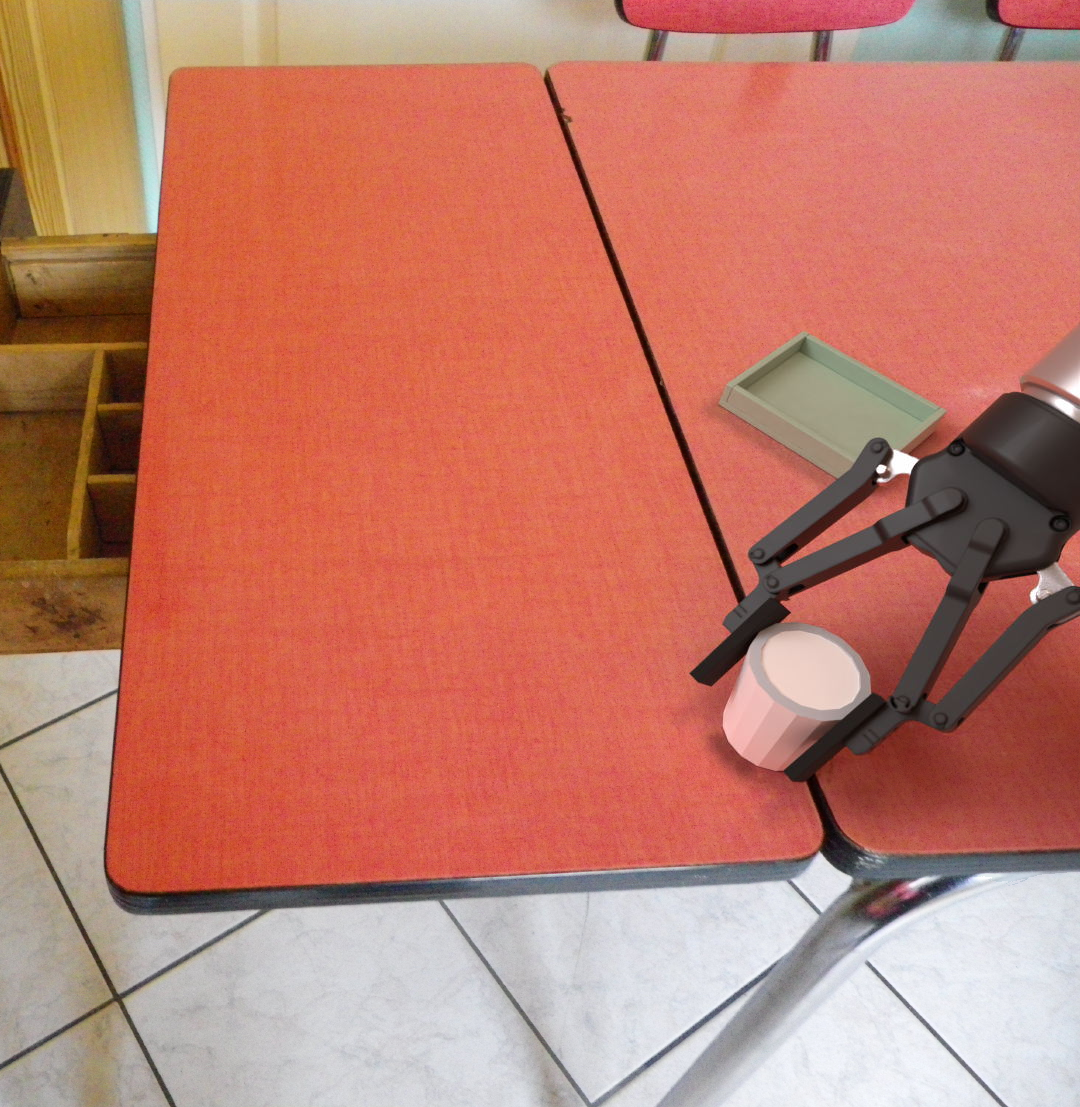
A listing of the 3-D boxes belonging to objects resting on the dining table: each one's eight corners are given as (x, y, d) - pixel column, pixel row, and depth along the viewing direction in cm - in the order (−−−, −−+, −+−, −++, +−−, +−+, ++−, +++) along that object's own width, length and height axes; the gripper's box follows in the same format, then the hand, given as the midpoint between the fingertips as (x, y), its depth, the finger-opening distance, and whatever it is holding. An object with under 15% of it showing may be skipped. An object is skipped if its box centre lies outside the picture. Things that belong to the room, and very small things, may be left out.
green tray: (934, 431, 82) (947, 410, 81) (861, 494, 77) (873, 473, 76) (794, 350, 89) (803, 330, 87) (717, 404, 84) (726, 383, 82)
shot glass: (754, 666, 67) (793, 601, 61) (846, 738, 63) (896, 676, 58) (689, 723, 64) (725, 660, 58) (782, 801, 60) (828, 742, 55)
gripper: (1253, 572, 50) (890, 863, 57) (926, 351, 61) (653, 618, 68) (1273, 541, 45) (866, 870, 51) (908, 303, 55) (611, 601, 62)
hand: (745, 726), depth 60 cm, fingers closed on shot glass, 7 cm apart
